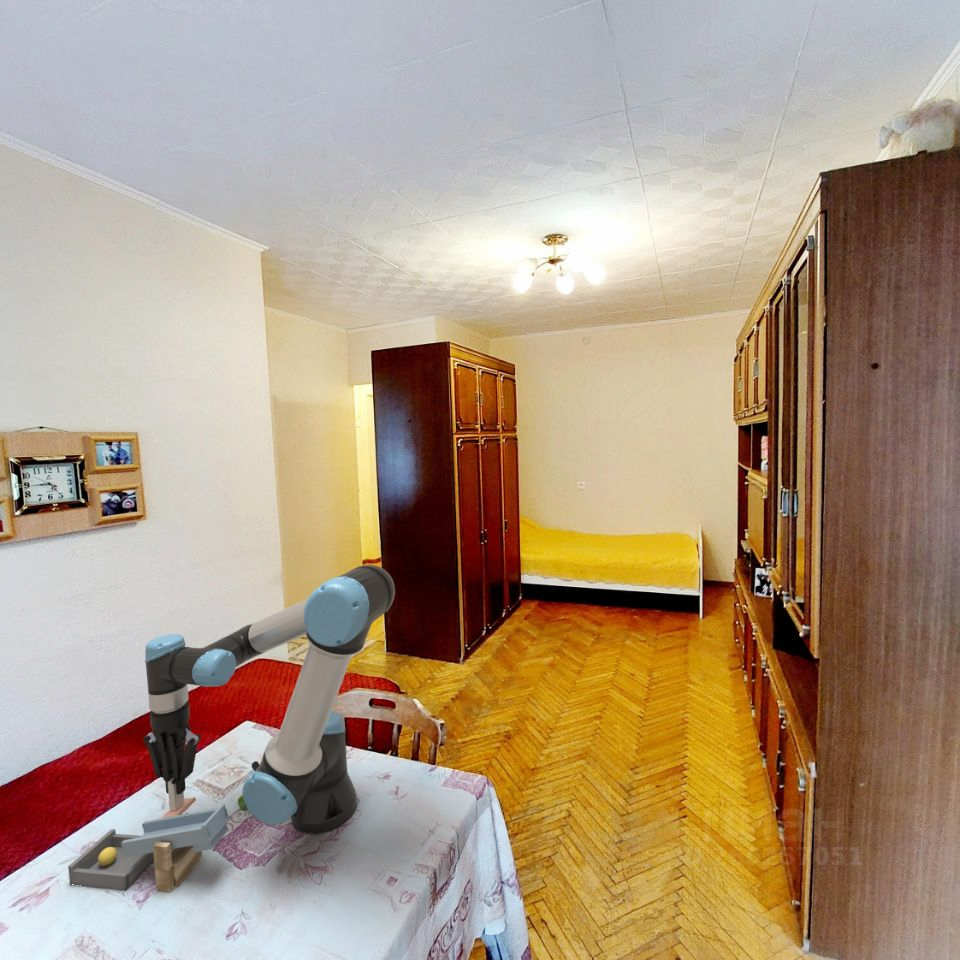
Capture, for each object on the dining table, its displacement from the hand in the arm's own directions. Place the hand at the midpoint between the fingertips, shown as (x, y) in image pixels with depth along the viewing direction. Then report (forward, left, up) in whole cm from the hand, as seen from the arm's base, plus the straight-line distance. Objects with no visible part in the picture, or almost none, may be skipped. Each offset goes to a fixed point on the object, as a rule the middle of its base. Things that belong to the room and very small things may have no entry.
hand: (177, 805), depth 113 cm
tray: (+6, +10, -7) cm, 13 cm away
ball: (+9, +10, -5) cm, 14 cm away
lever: (-9, +5, -1) cm, 10 cm away
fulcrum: (-8, +10, -7) cm, 14 cm away
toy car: (-13, -13, -7) cm, 20 cm away
